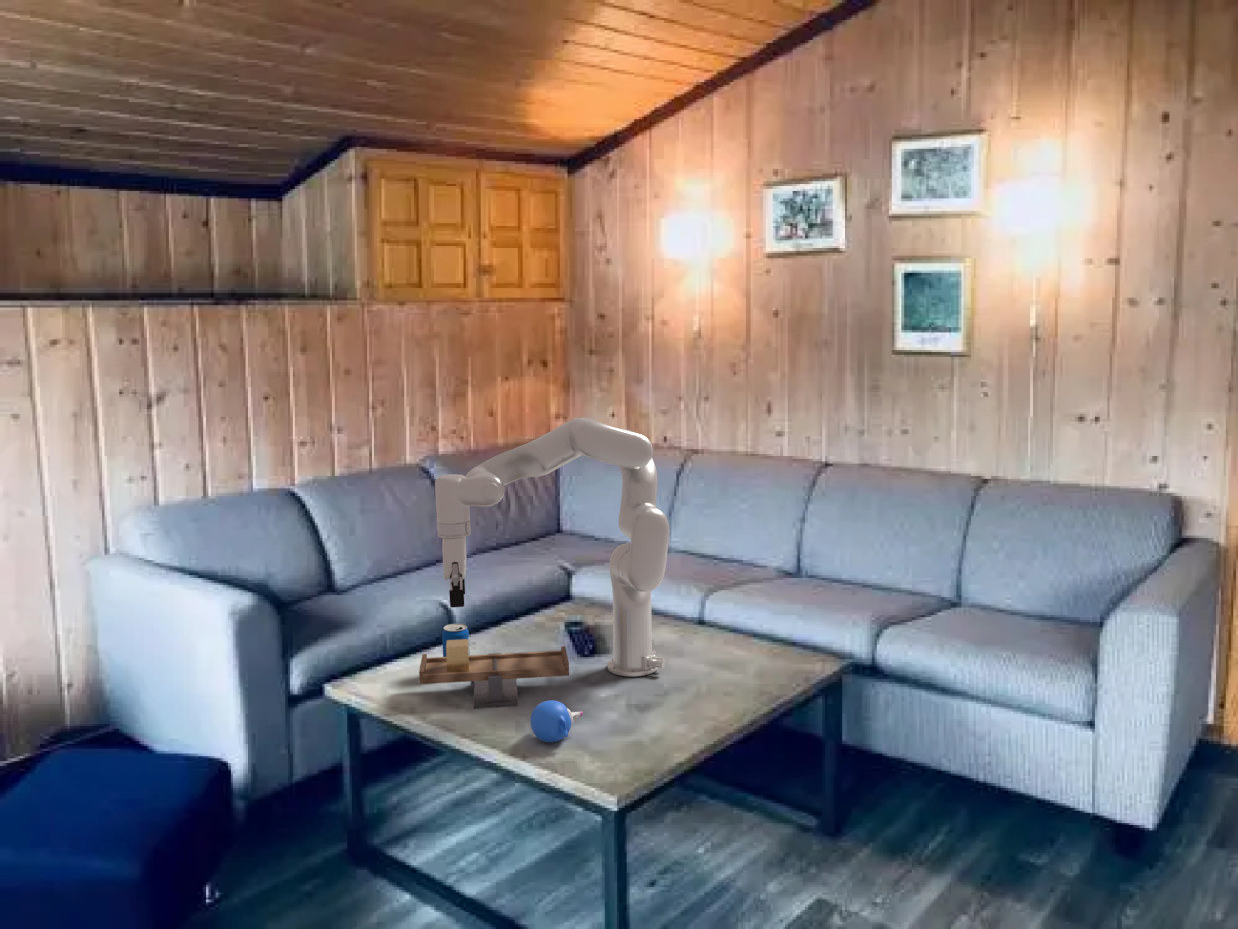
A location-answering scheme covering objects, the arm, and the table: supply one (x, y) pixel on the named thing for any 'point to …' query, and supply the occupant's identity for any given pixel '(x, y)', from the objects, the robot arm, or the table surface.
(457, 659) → the rider
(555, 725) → the blue mole toy
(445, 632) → the beverage can
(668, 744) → the table surface
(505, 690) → the beam stand
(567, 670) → the beam
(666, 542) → the robot arm
